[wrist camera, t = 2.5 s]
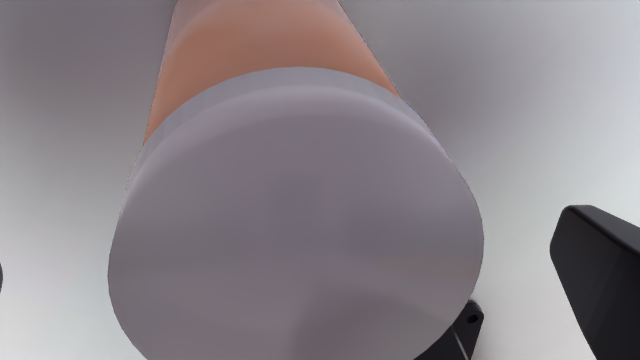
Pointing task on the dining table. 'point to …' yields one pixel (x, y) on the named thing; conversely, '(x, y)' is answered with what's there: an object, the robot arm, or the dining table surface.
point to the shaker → (287, 198)
